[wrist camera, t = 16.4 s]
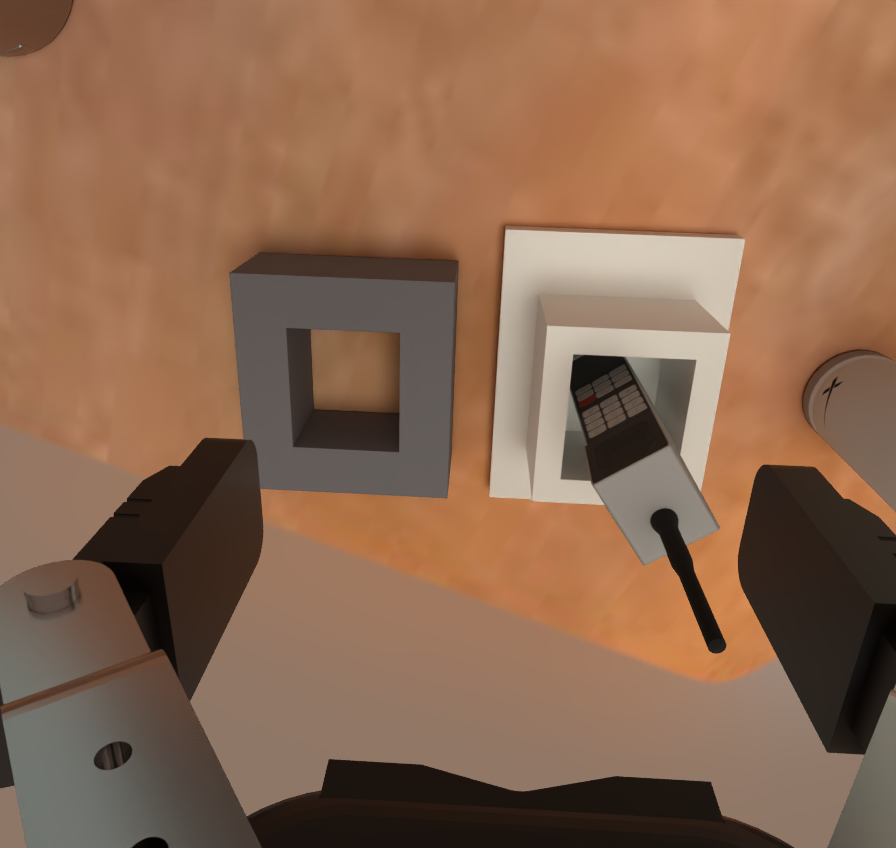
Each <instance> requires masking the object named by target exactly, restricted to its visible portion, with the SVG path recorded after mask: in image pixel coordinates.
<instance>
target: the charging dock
mask: <svg viewBox="0 0 896 848" xmlns="http://www.w3.org/2000/svg"><path fill="white" fill-rule="evenodd" d="M744 244H745V239H744V238H743V237H741V236H739V235H730V234H705V233H679V232H654V231H629V230H603V229H578V228H553V227H527V226H505V236H504V253H503V269H502V286H501V302H500V319H499V335H498V352H497V368H496V385H495V401H494V418H493V434H492V451H491V467H490V484H489V497H500V498H520V499H532V501H540V502H559V503H579V504H599V505H604V503H603V502H602V500H601V498H600V497H599V495H598V494H597V492H596V491H595V489H594V488H593V486H592V484H591V480H590V475H589V470H588V465H587V461H586V456H585V451H584V446H585V445H586V443H585V440H584V436H583V433H582V429H581V426H580V422H579V419H578V415H577V412H576V409H575V405H574V402H573V398H572V395H571V391H570V381H571V371H572V361H573V354H578V355H601V356H623V357H626V358H627V360H628V362H629V363H630V365H631V367H632V369H633V370H634V372H635V374H636V375H637V377H638V379H639V381H640V382H641V384H642V386H643V388H644V389H645V391H646V393H647V394H648V396H649V398H650V400H651V402H652V403H653V405H654V407H655V409H656V411H657V413H658V415H659V416H660V418H661V420H662V422H663V424H664V426H665V427H666V429H667V431H668V433H669V435H670V437H671V438H672V440H673V442H674V444H675V446H676V448H677V449H678V451H679V453H680V455H681V457H682V459H683V460H684V462H685V464H686V466H687V468H688V470H689V471H690V473H691V475H692V477H693V479H694V481H695V482H696V484H697V486H698V488H699V490H700V492H701V487H702V482H703V477H704V472H705V466H706V461H707V456H708V450H709V445H710V440H711V435H712V429H713V424H714V419H715V413H716V408H717V403H718V398H719V392H720V387H721V382H722V377H723V371H724V366H725V361H726V355H727V350H728V345H729V340H730V333H729V332H728V329H729V324H730V319H731V313H732V308H733V303H734V297H735V292H736V287H737V281H738V276H739V271H740V265H741V260H742V255H743V249H744Z"/></svg>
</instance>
